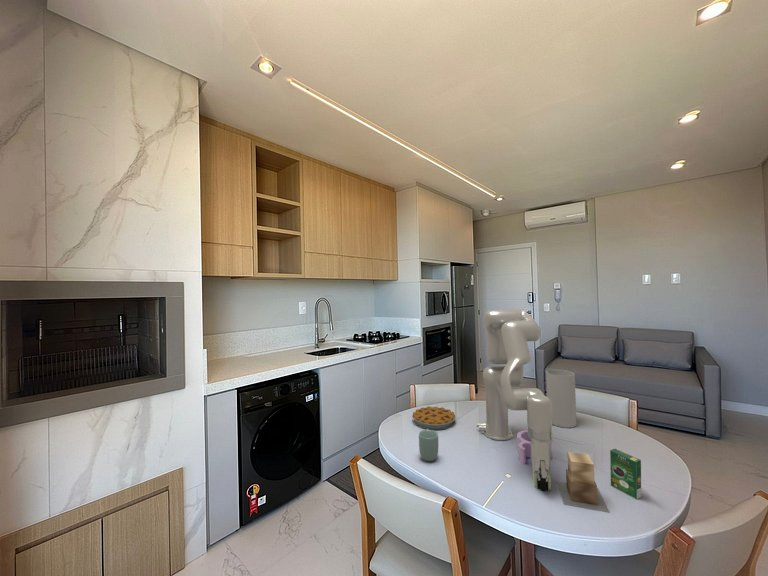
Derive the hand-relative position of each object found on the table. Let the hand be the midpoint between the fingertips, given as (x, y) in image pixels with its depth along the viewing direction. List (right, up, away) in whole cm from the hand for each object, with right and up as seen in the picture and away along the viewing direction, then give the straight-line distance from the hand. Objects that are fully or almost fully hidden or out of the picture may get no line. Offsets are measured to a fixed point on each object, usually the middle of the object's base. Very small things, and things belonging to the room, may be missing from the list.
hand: (541, 486), depth 106 cm
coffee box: (+25, 0, -5) cm, 25 cm away
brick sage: (0, -1, 0) cm, 1 cm away
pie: (-28, -2, +56) cm, 62 cm away
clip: (+7, -1, +20) cm, 21 cm away
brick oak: (+9, +7, -6) cm, 13 cm away
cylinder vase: (+35, 0, +50) cm, 61 cm away
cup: (-35, -2, +20) cm, 41 cm away
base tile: (+9, 0, -7) cm, 11 cm away
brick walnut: (+9, +1, -7) cm, 11 cm away
